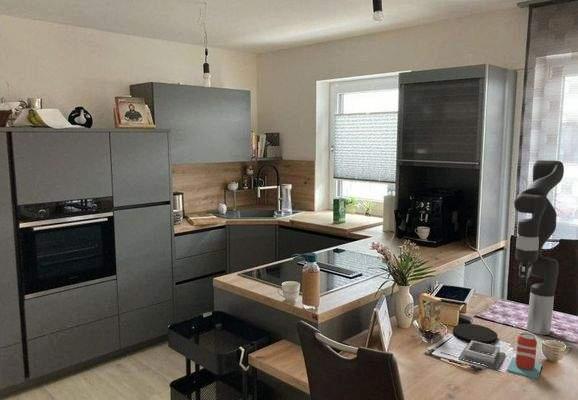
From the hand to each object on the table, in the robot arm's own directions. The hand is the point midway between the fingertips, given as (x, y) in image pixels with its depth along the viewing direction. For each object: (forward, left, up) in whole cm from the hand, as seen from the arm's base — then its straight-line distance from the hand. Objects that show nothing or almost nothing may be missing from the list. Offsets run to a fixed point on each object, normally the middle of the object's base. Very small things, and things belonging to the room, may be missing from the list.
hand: (524, 288), depth 180 cm
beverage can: (+9, +4, -27) cm, 29 cm away
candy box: (-4, -36, -28) cm, 46 cm away
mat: (+9, +4, -28) cm, 29 cm away
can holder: (+9, -11, -28) cm, 31 cm away
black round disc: (-10, -18, -28) cm, 35 cm away
